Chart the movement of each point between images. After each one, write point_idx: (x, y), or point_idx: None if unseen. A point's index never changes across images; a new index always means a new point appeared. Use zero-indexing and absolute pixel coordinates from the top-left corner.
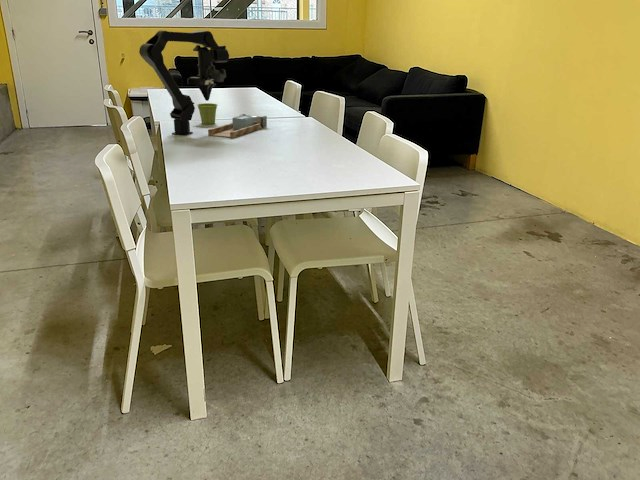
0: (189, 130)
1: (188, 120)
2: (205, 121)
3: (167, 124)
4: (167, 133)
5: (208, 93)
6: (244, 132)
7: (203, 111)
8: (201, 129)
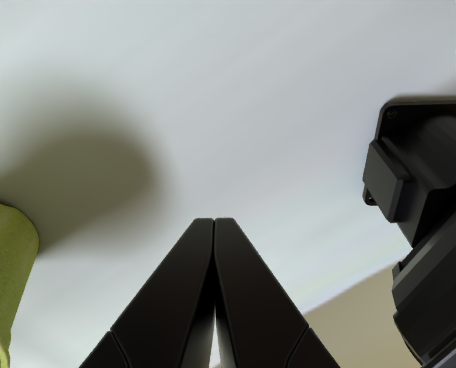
0: (392, 136)
1: (434, 178)
2: (28, 238)
3: None
4: None
5: (239, 316)
6: None
7: (5, 302)
8: (207, 144)
